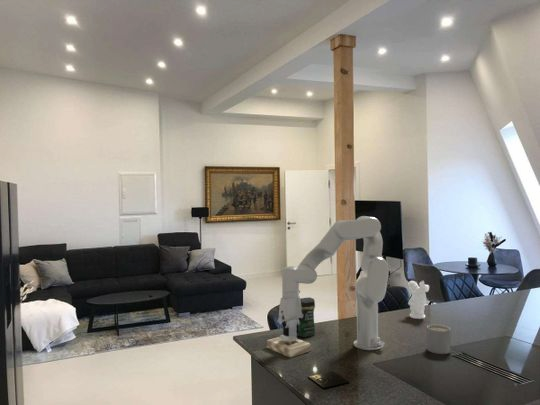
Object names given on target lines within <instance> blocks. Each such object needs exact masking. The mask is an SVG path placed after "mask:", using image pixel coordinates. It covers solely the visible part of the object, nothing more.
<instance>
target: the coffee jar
mask: <svg viewBox="0 0 540 405" xmlns="http://www.w3.org/2000/svg"><path fill="white" fill-rule="evenodd" d="M300 301H301V312H302V314H303V315H304V316H303V318H302V319H301V321H300V324H299V325H298V334H297V337H302V338H307V336H308V337H313V336H315V335H316V329H315V328H316V327H315V314H314V313H315V308H316V301H315V298H314V297H313V298H312V297H300ZM312 335H313V336H312Z"/></svg>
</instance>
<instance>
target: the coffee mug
mask: <svg viewBox="0 0 540 405" xmlns="http://www.w3.org/2000/svg"><path fill="white" fill-rule="evenodd" d="M451 332H452V330H451V327H449V326H447V325H443V324H429V325H427V326H426V350H427V351H428V352H431V353H433V354H439V355H447V354H450V353H451V352H452V351H451V350H452V349H451V347H452V346H451V343H452V342H451V340H452V339H451V338H452V336H451Z"/></svg>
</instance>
